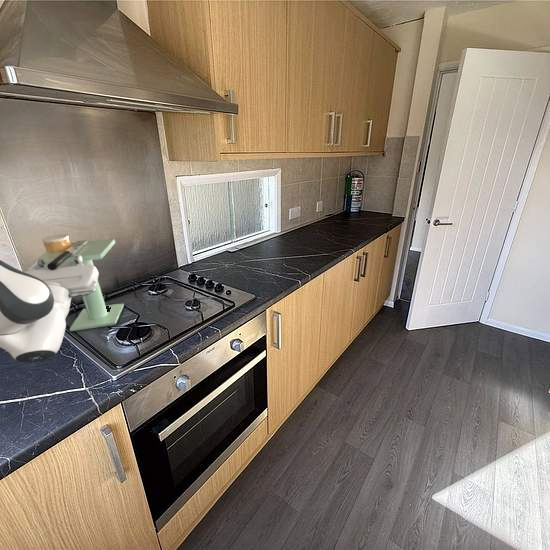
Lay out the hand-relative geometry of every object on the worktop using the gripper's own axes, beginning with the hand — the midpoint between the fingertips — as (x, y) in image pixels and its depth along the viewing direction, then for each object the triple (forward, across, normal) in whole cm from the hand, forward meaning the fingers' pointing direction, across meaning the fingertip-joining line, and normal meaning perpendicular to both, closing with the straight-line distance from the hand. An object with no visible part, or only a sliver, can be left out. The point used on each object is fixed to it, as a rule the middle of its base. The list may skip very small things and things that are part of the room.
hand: (60, 258), depth 83 cm
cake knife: (+5, 0, +4) cm, 7 cm away
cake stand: (-2, 0, +30) cm, 30 cm away
